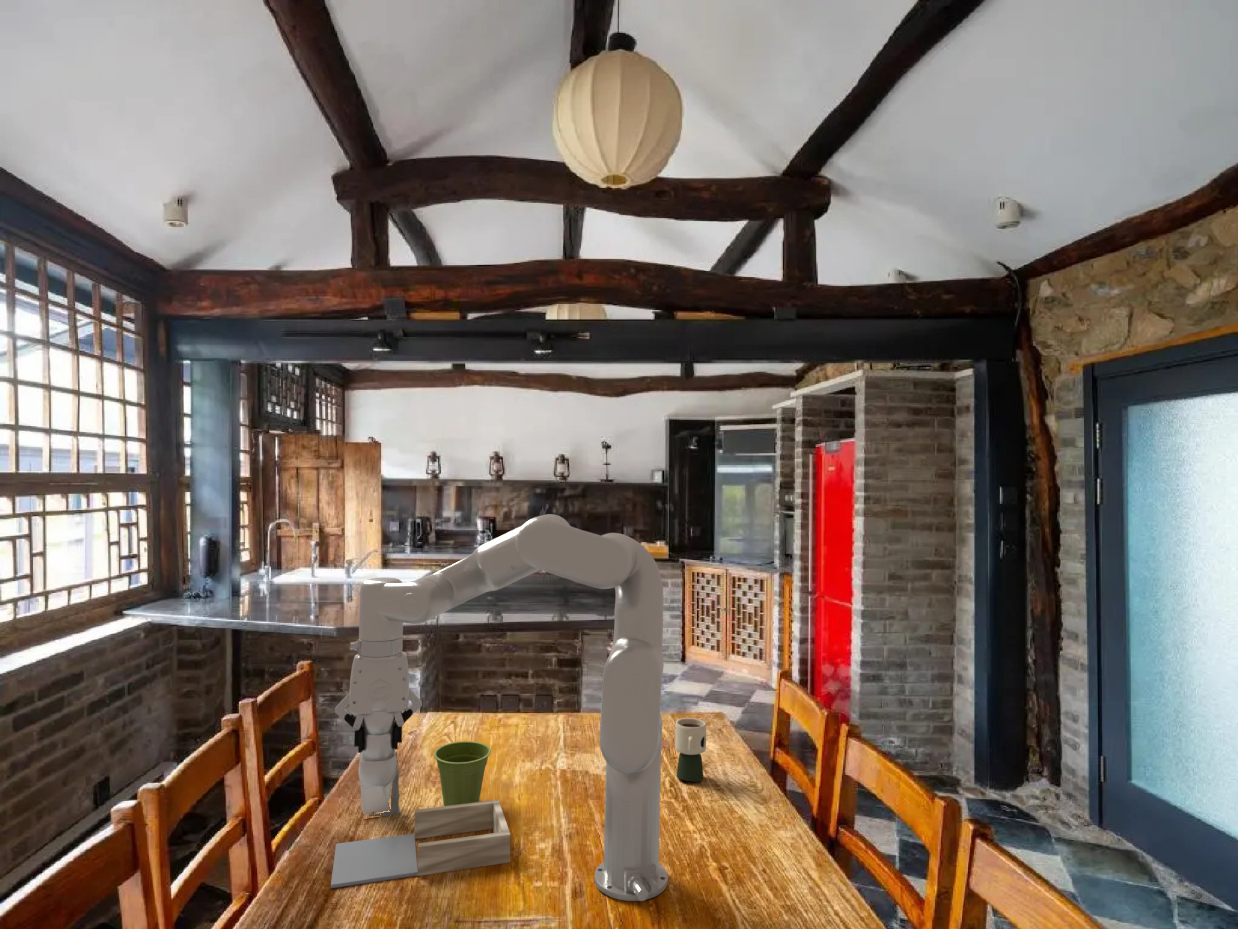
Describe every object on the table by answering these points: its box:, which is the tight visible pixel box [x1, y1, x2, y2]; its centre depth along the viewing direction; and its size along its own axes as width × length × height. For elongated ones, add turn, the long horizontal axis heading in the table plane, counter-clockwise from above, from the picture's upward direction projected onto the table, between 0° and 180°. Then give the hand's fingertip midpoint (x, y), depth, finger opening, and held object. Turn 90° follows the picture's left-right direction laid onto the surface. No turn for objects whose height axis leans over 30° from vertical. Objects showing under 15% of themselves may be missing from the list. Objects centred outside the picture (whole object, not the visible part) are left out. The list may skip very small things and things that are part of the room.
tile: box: [330, 833, 418, 889], centre depth 129 cm, size 14×14×1 cm
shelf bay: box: [413, 799, 511, 877], centre depth 133 cm, size 14×16×5 cm
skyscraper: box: [359, 751, 401, 817], centre depth 149 cm, size 8×8×28 cm
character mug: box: [674, 717, 707, 783], centre depth 166 cm, size 11×7×13 cm, turn 175°
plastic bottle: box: [358, 700, 398, 786], centre depth 129 cm, size 6×7×20 cm
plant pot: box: [433, 740, 492, 806], centre depth 151 cm, size 12×12×11 cm
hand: (378, 747), depth 129 cm, fingers closed on plastic bottle, 5 cm apart
